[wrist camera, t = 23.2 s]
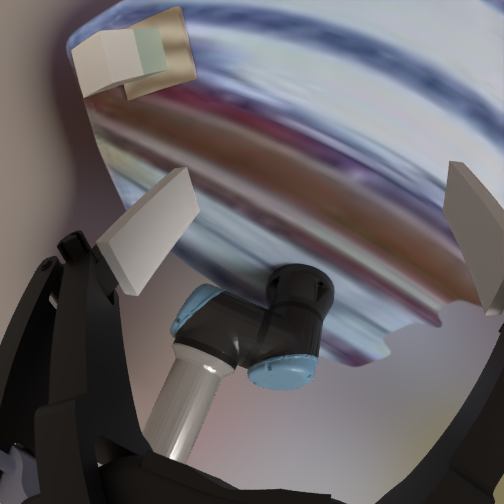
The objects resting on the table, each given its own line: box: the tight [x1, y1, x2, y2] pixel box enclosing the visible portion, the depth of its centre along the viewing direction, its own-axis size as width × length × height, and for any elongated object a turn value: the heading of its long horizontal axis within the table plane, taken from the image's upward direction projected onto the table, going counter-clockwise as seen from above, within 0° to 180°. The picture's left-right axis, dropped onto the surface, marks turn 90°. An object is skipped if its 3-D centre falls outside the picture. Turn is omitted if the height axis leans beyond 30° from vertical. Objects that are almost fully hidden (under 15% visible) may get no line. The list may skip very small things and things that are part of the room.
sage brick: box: [119, 29, 169, 86], centre depth 33 cm, size 8×6×7 cm
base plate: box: [124, 6, 198, 101], centre depth 37 cm, size 14×14×2 cm
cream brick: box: [71, 29, 144, 98], centre depth 28 cm, size 8×6×7 cm
